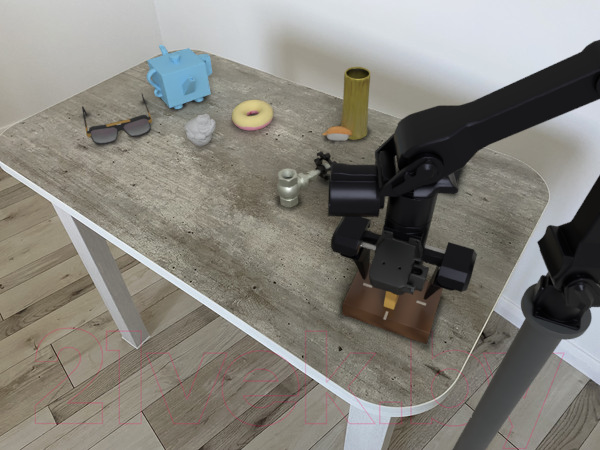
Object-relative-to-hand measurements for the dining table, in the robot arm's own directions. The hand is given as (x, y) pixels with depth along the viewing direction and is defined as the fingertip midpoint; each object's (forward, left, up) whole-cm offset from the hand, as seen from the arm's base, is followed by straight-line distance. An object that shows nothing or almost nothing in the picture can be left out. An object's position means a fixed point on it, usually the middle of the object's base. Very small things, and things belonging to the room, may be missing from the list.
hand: (394, 287), depth 71 cm
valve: (+23, -19, -5) cm, 30 cm away
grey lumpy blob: (+50, -25, -5) cm, 56 cm away
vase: (+21, -41, -5) cm, 47 cm away
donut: (+44, -37, -5) cm, 58 cm away
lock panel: (0, 0, -5) cm, 5 cm away
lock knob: (0, 0, -2) cm, 2 cm away
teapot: (+65, -40, -5) cm, 76 cm away
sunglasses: (+72, -24, -5) cm, 76 cm away
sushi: (+24, -38, -5) cm, 45 cm away
